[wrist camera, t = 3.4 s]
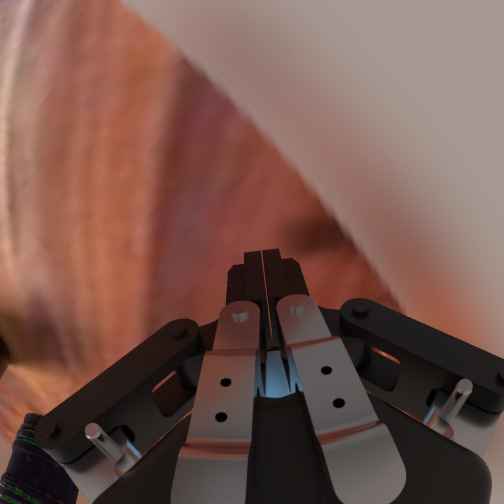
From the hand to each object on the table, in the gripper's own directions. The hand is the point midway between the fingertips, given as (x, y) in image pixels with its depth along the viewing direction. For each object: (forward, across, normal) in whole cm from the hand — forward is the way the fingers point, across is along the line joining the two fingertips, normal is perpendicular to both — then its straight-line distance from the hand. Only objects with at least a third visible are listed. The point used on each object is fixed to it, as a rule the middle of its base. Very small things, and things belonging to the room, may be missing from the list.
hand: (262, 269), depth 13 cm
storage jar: (+2, +28, +23) cm, 36 cm away
